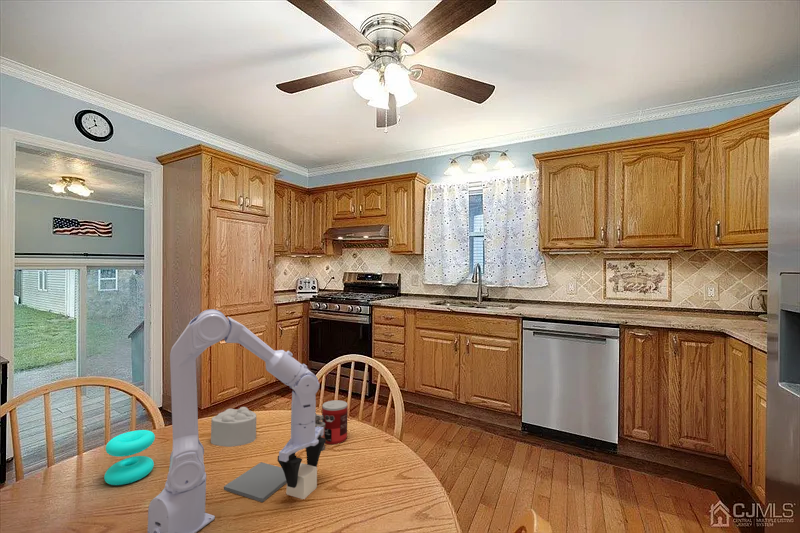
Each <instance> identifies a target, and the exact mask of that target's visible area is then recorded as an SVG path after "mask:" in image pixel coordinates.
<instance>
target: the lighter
mask: <svg viewBox="0 0 800 533" xmlns="http://www.w3.org/2000/svg"><path fill="white" fill-rule="evenodd" d="M322 420H323V416H322V414H317V413H316V417H315V427H317V426H319V427H324V434H325V423H324V422H322ZM321 437H322V438H324V435H323V436H321ZM324 450H326V446H325V444H324V446H323V448H322V450H321V452H323V451H324Z"/></svg>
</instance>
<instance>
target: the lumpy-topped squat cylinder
mask: <svg viewBox="0 0 800 533" xmlns="http://www.w3.org/2000/svg"><path fill="white" fill-rule="evenodd" d="M210 427H211V428H210V444H211V445H213V446H219V447H227V448H228V447H229V448H231V447H238V446H244V445H248V444H251V443H253V442H255V441H256V439H257V413H255V412H254V411H252V410H249V408H248V407H247V406H240V407H239V408H237V409H235V408H227V409H225V410H224V411H222V412H219V413H218V414H217V415H214V416H213V417H211V425H210Z"/></svg>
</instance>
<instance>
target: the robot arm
mask: <svg viewBox="0 0 800 533" xmlns="http://www.w3.org/2000/svg"><path fill="white" fill-rule="evenodd" d="M185 327H186V328H184V330H183V331H182V333H180V336H179V337H178V338H177V340H176V341H175V343H173V345H172V346H171V349H170V353H169V361H170V362H169V363H170V364H169V365H170V391H171V392H170V394H171V396H170V397H171V425H172V428H171V429H172V451H171V453H170V456H169V466H168V467H169V469H168V472H167V477H166V481H165V484H164V488H163V489H162V491H160V493H159V494H157V495H156V496H155V497H153V499H152V500H151V501H150V502H149V503H148V504H149V505H148V508H147V533H197V532H199V531H200V530H202V529H203V528H205V527H206V526H208V524H210V523H212V521H214V520H215V519H216V518H215V517H216V515H213V514H210V513H208V512H206V494H207V473H206V467H205V464H204V462H205V461H204V455H205V447H204V445H203V444H202V442H201V441H200V438H199V419H198V418H199V417H198V416H199V414H198V390H197V389H198V387H197V386H198V385H197V360H196V359H197V358H199V356H200V355H201V354H202V353H204V351H206V350H207V349H208V348H209V347H212V346H213V345H215V344H217V343H219V342H221V341H225V343H226V344H230V343H231V344H239V345H241V346H243V348H245V349H246V350H248V351H250V352H251V353H252V354H253V355H255V356H257V357H258V358H259V359H261V360H263V361H264V362H265V363H264V364H265V371H266V372H268V373H269V374H271V375H272V376H273V377H275V379H277V380H279V381H280V382H281V383H283V384H284V385H286V386H289V388H290V389H292V391H291V407H290V408H291V412H290V414H291V416H290V418H291V419H290V439H289V440H288V442H287V443H286V444H285V445H284V446H283V448H282V449H281V450H279V451H278V456H277V462H278V464H279V466H280V467H281V468H282V469H283V471H284V474H285V478H286V482H287V483H286V487H287V486H289V487H292V488H295V487H296V486H297V481H298V471H299V467H300V464H301V463H302V461H303V458H301V457H297V455H296V453H297V452H299V451H301V450H303V449H305V454H306V464H307V465H311V466H315V467H317V468H318V463H319V459H320V456H321V453H322V451H321V450H322V448H323V446H324V445H325V444H326V443H325V442H326V439H325V438H322V437H321V436H323V435H324V427H319V426H317V427H315V417H316V414H317V413H316V411H317V410H316V409H317V408H316V406H317V399H316V396H317V395H316V394H317V392H318V391H319V389H320V382H319V379H318V377H317V375H316V374H315V373H314V372H312V371H311V370H310V369H309V368H308V365H306V364H305V363H301V362H300V361H298V359H296V358H294V357H293V356H294V355H293V353H292V351H290V350H287V351H285V350H284V349H278V350H277V349H276V350H274V349H273V348H272V347H271V346H269V345H268V344H267V343H266V342H264V341H263V340H262V339H261V338H260V337H258V335H256V334H255V333H253V332H252V331H251V330H250V329H249V328H247V327H246V326H245V325H244V324H242V323H241V322H239V321H237V320H236V319H233V318H232V317H230V316H227V317H226V316H225V314H224V313H223V312H222V311H220V310H218V309H214V308H212V309H205V310H203V311H202V312H200V313H199V314H197V315H195V317H194V318H192V319H191V320H190V321H189V322H188V324H187V325H186V326H185Z"/></svg>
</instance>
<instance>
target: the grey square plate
mask: <svg viewBox="0 0 800 533" xmlns="http://www.w3.org/2000/svg"><path fill="white" fill-rule="evenodd" d="M285 485H287V482H286V478H285V474H284V471H283V469H282V467H281V466H277V465H274V464H270V463H267V462H262V461H261V462H259V463H258V464H255V465H254V466H253V467H251V468H250V469H249V470H246V471H245V472H244V473H242V474H241V475H239V476H237V477H236V478H234V479H233V480H230V482H228V483H226V484H225V485H224V486H223V490H224V491H227V492H230V493H232V494H235V495H239V496H242V497H245V498H248V499H250V500H254V501H257V502H261V503H264V502H265V501H267V499H269V498H270V497H271V496H272V495H274V494H275V493H276V492H277V491H279V490H280V489H281V488H282V487H283V486H285Z"/></svg>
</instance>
